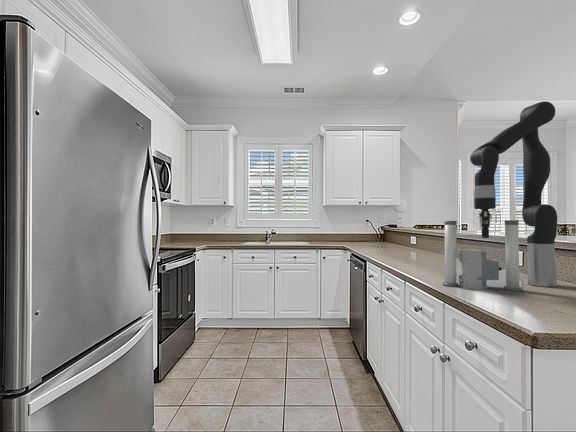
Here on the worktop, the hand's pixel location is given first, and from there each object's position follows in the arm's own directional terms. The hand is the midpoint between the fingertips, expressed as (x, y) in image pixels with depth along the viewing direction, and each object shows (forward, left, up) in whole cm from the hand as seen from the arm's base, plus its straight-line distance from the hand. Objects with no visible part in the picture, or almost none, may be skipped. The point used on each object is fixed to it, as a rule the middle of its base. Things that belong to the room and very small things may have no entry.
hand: (485, 237), depth 140 cm
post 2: (-9, 0, -20) cm, 22 cm away
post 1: (+13, 0, -20) cm, 24 cm away
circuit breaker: (+2, 0, -20) cm, 20 cm away
